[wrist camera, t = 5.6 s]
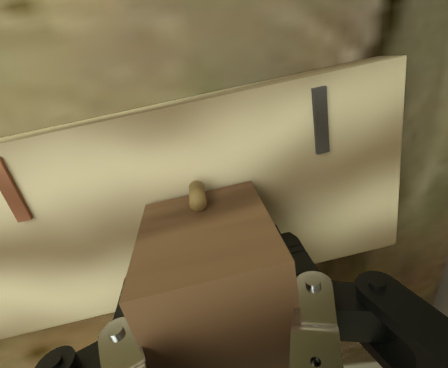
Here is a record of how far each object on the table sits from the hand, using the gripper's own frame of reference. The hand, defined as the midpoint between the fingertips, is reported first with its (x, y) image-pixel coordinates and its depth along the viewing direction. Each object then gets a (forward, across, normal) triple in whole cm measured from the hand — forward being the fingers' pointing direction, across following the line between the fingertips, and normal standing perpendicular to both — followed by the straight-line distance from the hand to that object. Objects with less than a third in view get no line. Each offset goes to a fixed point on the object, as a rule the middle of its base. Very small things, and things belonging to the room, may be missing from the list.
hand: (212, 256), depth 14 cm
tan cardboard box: (+2, 0, 0) cm, 2 cm away
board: (+3, +4, -2) cm, 5 cm away
